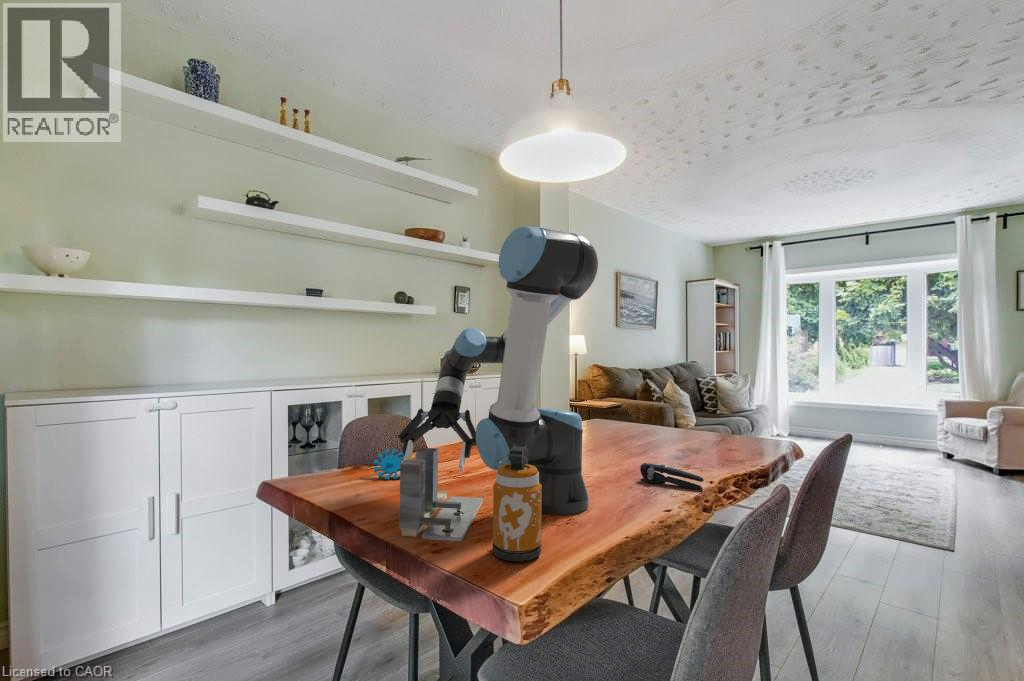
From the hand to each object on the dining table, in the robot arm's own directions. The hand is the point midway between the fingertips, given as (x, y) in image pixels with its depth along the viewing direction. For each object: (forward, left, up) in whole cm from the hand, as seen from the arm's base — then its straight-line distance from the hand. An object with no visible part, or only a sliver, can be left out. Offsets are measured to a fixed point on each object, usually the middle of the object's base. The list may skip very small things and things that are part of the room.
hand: (433, 467), depth 116 cm
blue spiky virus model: (+22, -20, -10) cm, 31 cm away
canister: (-26, +18, -9) cm, 33 cm away
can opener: (-56, -38, -10) cm, 68 cm away
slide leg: (-4, +6, -8) cm, 11 cm away
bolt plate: (-8, +6, -9) cm, 14 cm away
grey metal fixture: (-4, +5, -9) cm, 11 cm away
